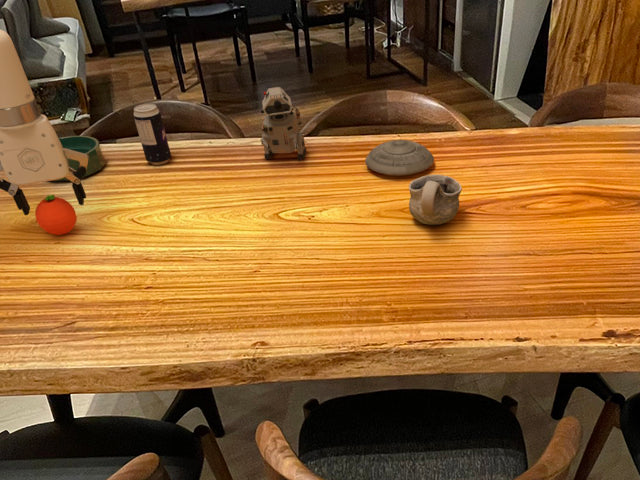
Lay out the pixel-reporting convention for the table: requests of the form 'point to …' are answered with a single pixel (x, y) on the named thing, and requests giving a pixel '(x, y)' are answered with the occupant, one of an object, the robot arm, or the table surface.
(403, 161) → the flying saucer
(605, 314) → the table surface
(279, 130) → the figurine
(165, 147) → the beverage can
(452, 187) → the mug
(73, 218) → the clementine
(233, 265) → the table surface
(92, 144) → the bowl
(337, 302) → the table surface
